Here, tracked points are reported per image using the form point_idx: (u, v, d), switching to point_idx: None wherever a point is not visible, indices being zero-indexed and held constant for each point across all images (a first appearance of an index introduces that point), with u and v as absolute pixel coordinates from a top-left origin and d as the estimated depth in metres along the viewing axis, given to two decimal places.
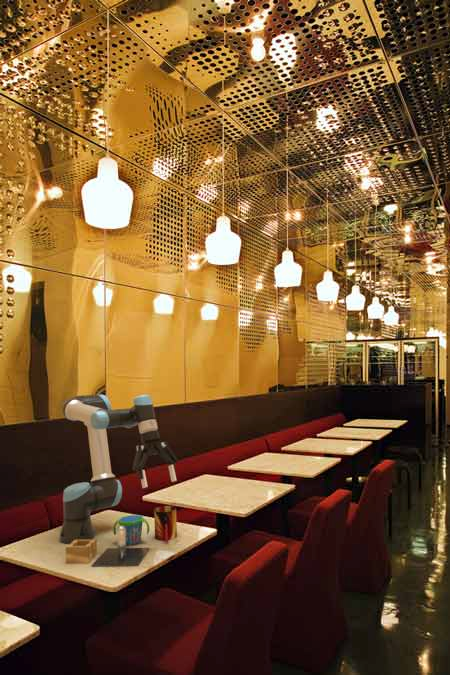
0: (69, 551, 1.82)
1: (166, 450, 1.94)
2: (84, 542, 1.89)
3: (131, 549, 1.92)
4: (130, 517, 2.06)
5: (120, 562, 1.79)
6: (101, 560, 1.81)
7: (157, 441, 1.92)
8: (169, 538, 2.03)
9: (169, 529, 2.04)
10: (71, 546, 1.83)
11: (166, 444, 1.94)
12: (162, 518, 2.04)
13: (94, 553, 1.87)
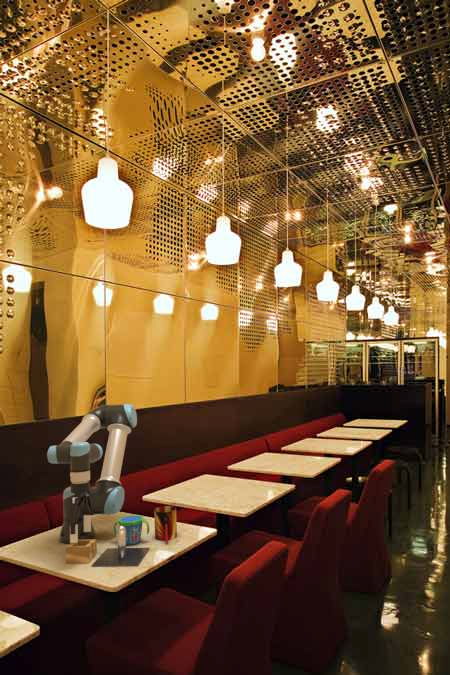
0: (69, 551, 1.82)
1: None
2: (84, 542, 1.89)
3: (131, 549, 1.92)
4: (130, 517, 2.06)
5: (120, 562, 1.79)
6: (101, 560, 1.81)
7: None
8: (169, 538, 2.03)
9: (169, 529, 2.04)
10: (71, 546, 1.83)
11: None
12: (162, 518, 2.04)
13: (94, 553, 1.87)
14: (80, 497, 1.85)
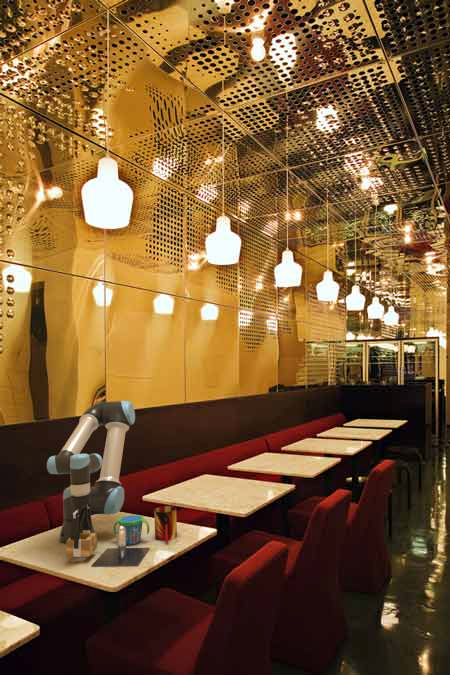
0: (69, 544, 1.82)
1: None
2: (84, 535, 1.89)
3: (131, 549, 1.92)
4: (130, 517, 2.06)
5: (120, 562, 1.79)
6: (101, 560, 1.81)
7: None
8: (169, 538, 2.03)
9: (169, 529, 2.03)
10: (71, 540, 1.84)
11: None
12: (162, 518, 2.03)
13: (94, 546, 1.88)
14: (81, 509, 1.85)
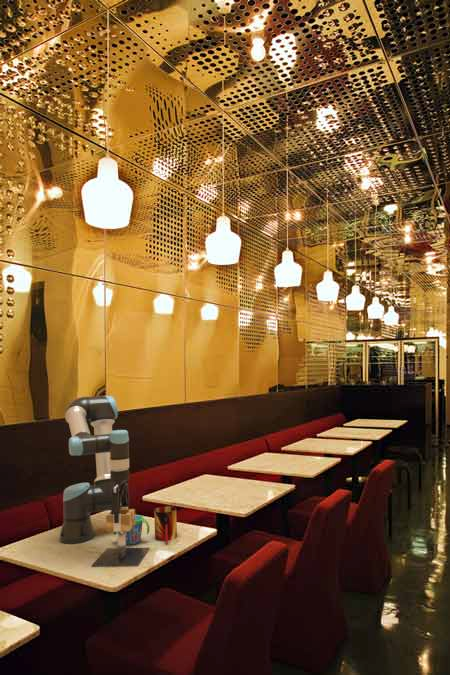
0: (109, 519, 1.82)
1: None
2: (123, 511, 1.90)
3: (131, 549, 1.92)
4: None
5: (120, 562, 1.79)
6: (101, 560, 1.81)
7: None
8: (169, 539, 2.03)
9: (169, 529, 2.03)
10: None
11: None
12: (162, 518, 2.03)
13: (133, 522, 1.88)
14: (120, 484, 1.85)
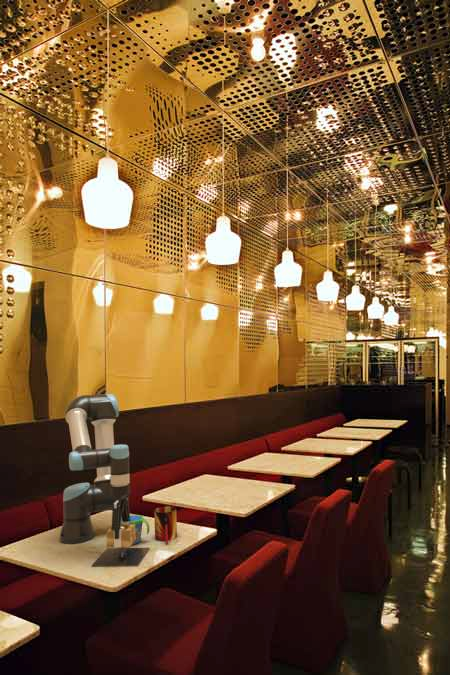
0: (110, 535, 1.82)
1: None
2: None
3: (131, 549, 1.92)
4: (130, 517, 2.06)
5: (120, 562, 1.79)
6: (101, 560, 1.81)
7: None
8: (169, 539, 2.03)
9: (169, 530, 2.03)
10: (112, 530, 1.83)
11: None
12: (162, 519, 2.03)
13: (133, 537, 1.87)
14: (121, 500, 1.84)
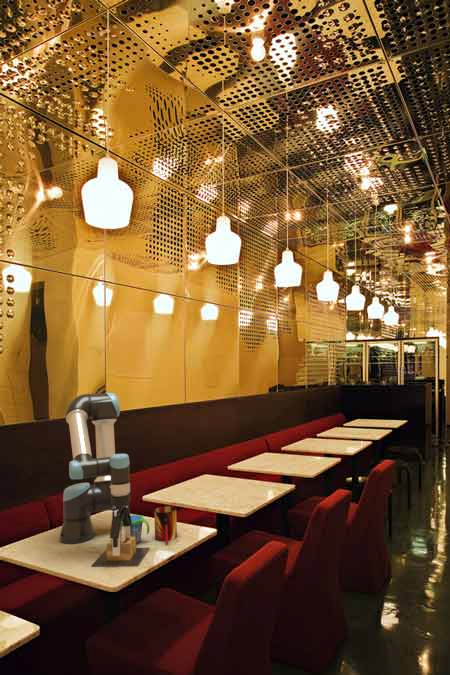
0: (110, 548, 1.82)
1: None
2: None
3: None
4: None
5: (120, 562, 1.79)
6: (101, 560, 1.81)
7: None
8: (169, 539, 2.02)
9: (169, 530, 2.03)
10: None
11: None
12: (162, 519, 2.03)
13: (134, 550, 1.87)
14: (121, 509, 1.84)
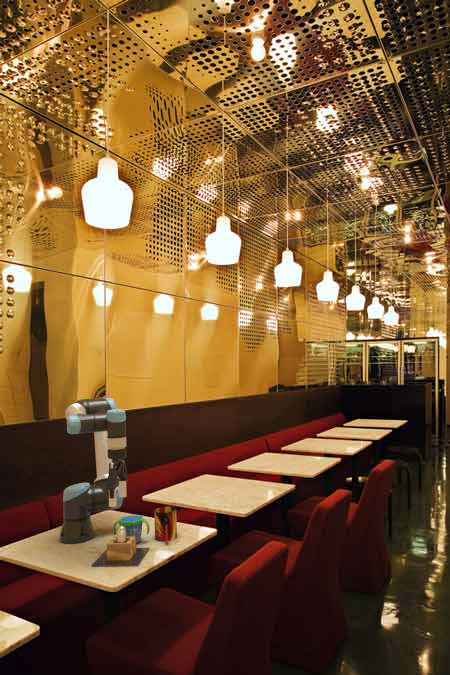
0: (110, 548, 1.82)
1: None
2: None
3: None
4: (130, 517, 2.06)
5: (120, 562, 1.79)
6: (101, 560, 1.81)
7: None
8: (169, 539, 2.02)
9: (169, 530, 2.03)
10: (112, 543, 1.83)
11: None
12: (162, 519, 2.03)
13: (134, 550, 1.87)
14: (117, 463, 1.87)
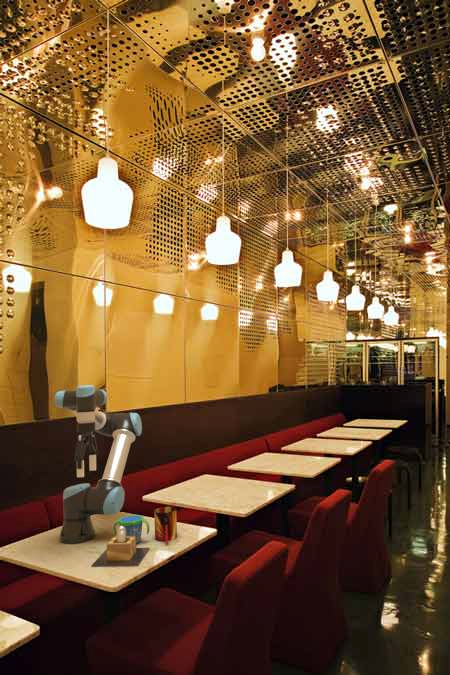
0: (110, 548, 1.82)
1: None
2: None
3: None
4: (130, 517, 2.06)
5: (120, 562, 1.79)
6: (101, 560, 1.81)
7: None
8: (169, 539, 2.02)
9: (169, 530, 2.02)
10: (112, 543, 1.83)
11: None
12: (162, 519, 2.02)
13: (134, 550, 1.87)
14: (86, 436, 1.94)
